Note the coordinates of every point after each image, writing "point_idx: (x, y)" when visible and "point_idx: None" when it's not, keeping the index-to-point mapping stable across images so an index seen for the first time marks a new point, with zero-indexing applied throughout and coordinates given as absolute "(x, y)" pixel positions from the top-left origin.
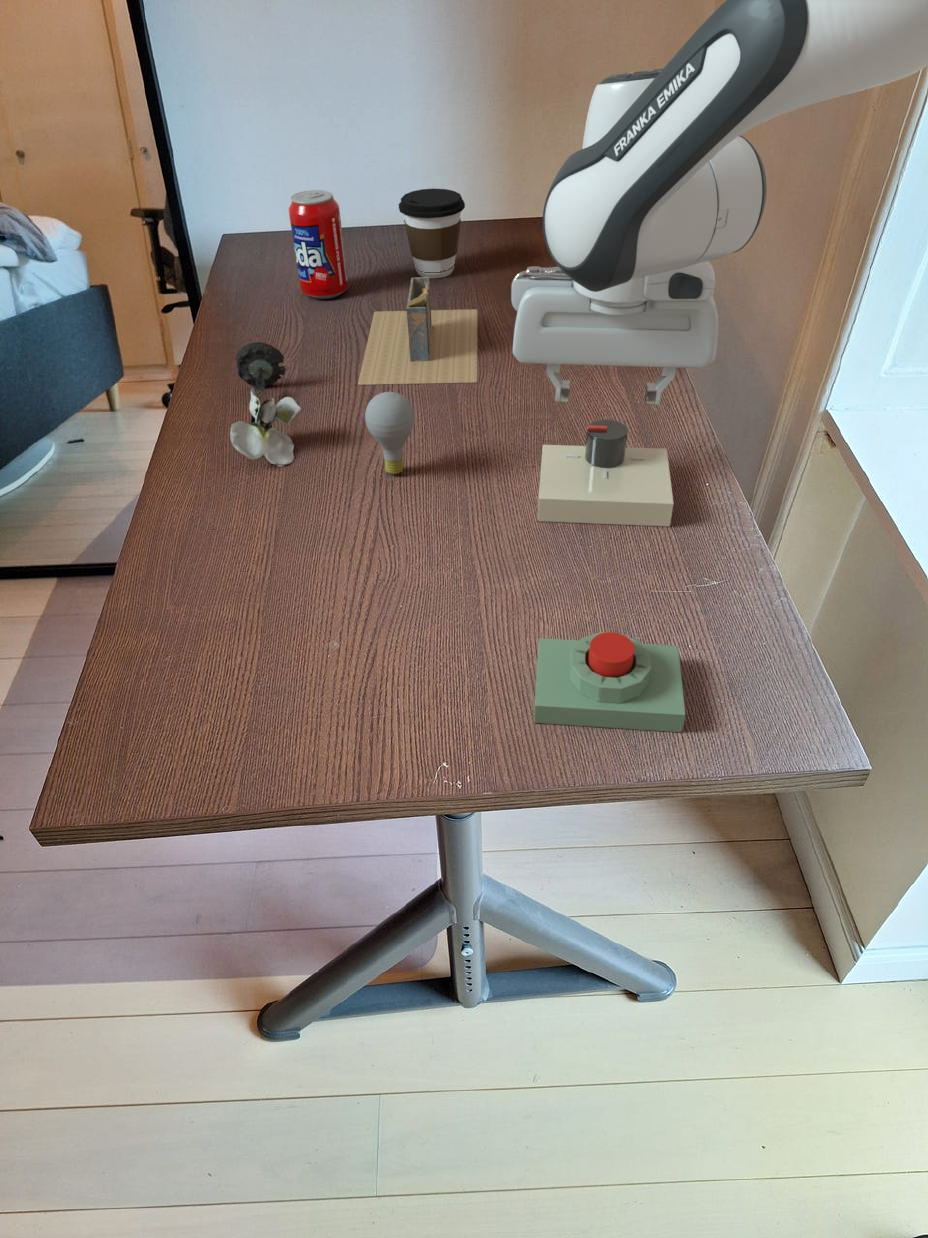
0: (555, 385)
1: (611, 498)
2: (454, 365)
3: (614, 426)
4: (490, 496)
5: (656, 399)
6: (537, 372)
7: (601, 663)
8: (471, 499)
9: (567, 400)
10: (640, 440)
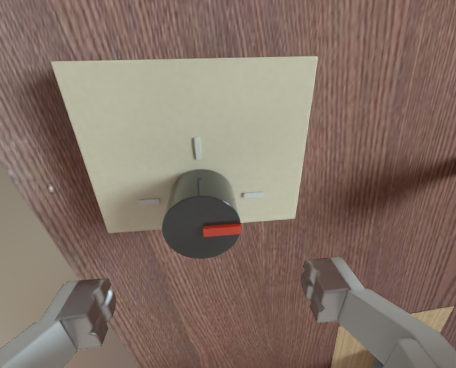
0: (371, 294)
1: (179, 69)
2: (356, 343)
3: (189, 240)
4: (359, 122)
5: (68, 293)
6: (278, 347)
7: None
8: (386, 111)
9: (312, 260)
10: (161, 265)
